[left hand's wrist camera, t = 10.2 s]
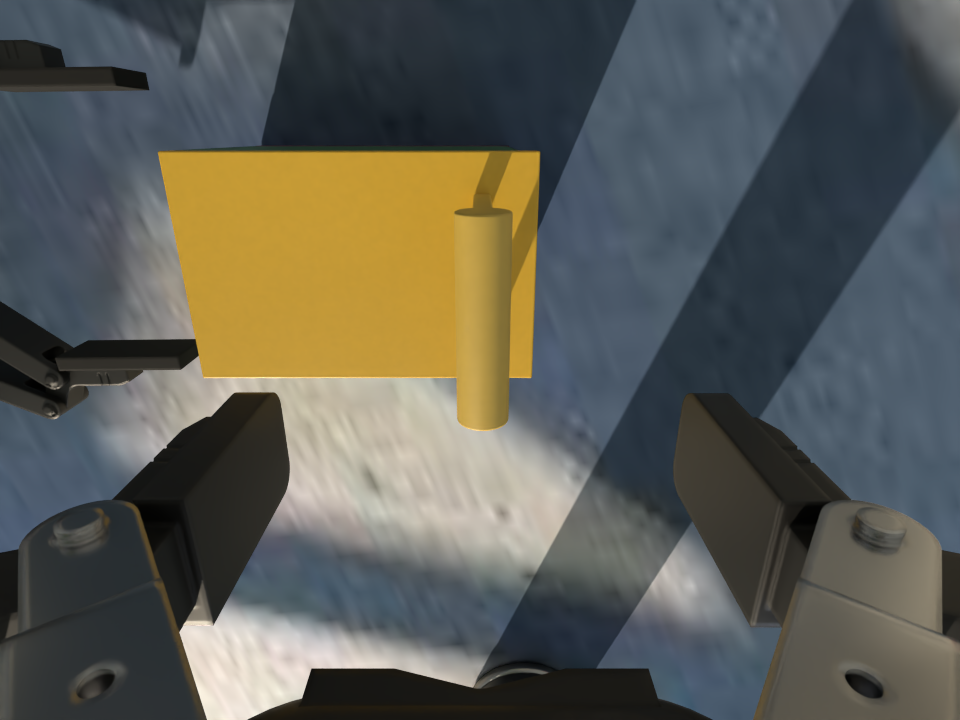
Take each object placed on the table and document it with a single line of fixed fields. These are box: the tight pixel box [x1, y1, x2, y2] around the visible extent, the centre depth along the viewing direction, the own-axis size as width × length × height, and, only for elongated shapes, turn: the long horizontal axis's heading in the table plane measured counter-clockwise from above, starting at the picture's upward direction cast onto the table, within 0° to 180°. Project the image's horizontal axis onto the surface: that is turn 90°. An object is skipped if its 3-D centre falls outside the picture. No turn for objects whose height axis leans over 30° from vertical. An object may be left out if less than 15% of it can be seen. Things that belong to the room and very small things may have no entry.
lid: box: [158, 151, 540, 431], centre depth 21 cm, size 15×10×9 cm, turn 90°
